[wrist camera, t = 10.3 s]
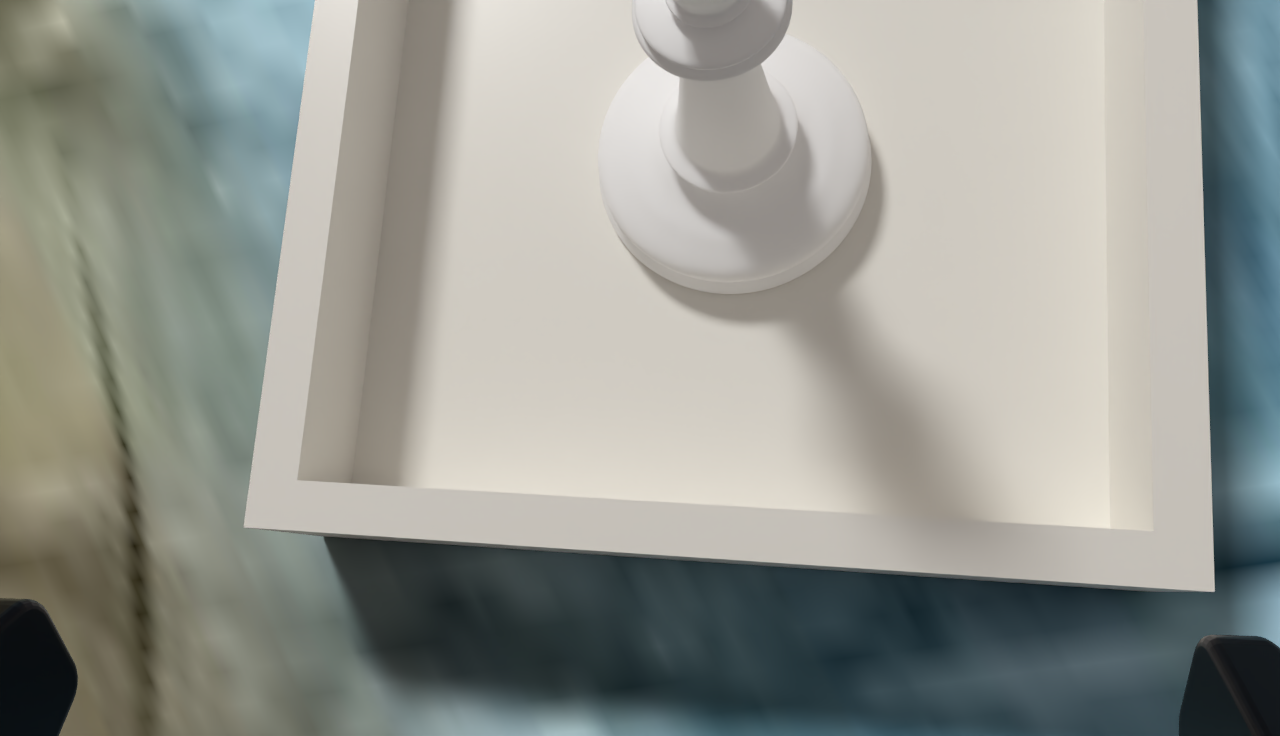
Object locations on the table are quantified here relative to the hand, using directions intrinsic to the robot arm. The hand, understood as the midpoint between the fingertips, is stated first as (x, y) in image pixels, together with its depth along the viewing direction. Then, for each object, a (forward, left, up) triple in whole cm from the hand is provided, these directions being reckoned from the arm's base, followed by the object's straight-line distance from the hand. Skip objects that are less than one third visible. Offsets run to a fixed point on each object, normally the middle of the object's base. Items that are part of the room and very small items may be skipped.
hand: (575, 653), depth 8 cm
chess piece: (+8, -2, -10) cm, 13 cm away
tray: (+8, -2, -11) cm, 14 cm away
